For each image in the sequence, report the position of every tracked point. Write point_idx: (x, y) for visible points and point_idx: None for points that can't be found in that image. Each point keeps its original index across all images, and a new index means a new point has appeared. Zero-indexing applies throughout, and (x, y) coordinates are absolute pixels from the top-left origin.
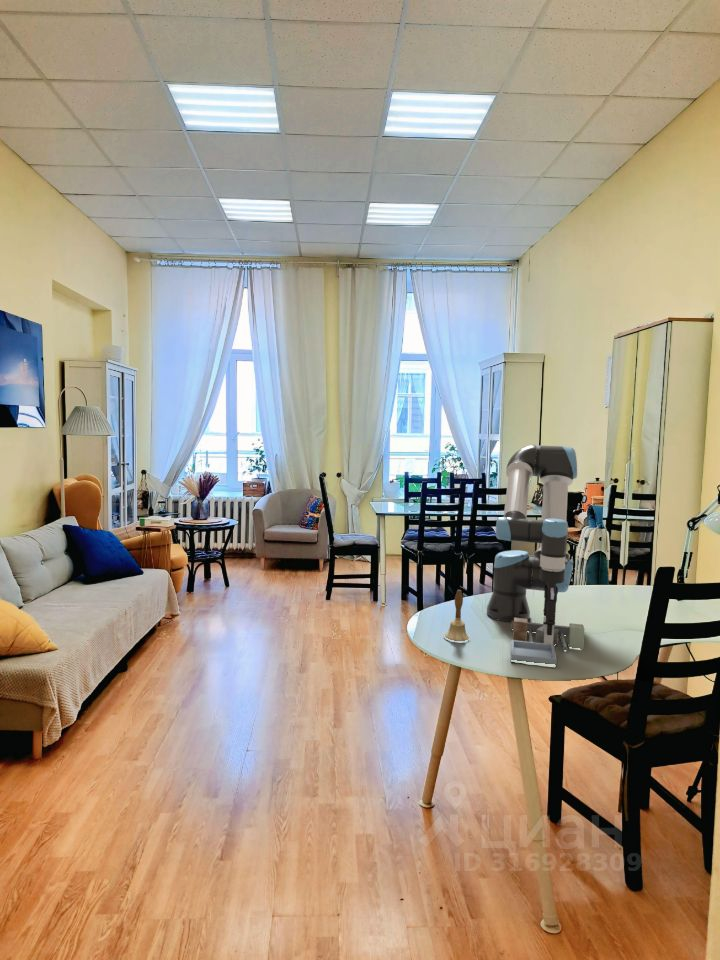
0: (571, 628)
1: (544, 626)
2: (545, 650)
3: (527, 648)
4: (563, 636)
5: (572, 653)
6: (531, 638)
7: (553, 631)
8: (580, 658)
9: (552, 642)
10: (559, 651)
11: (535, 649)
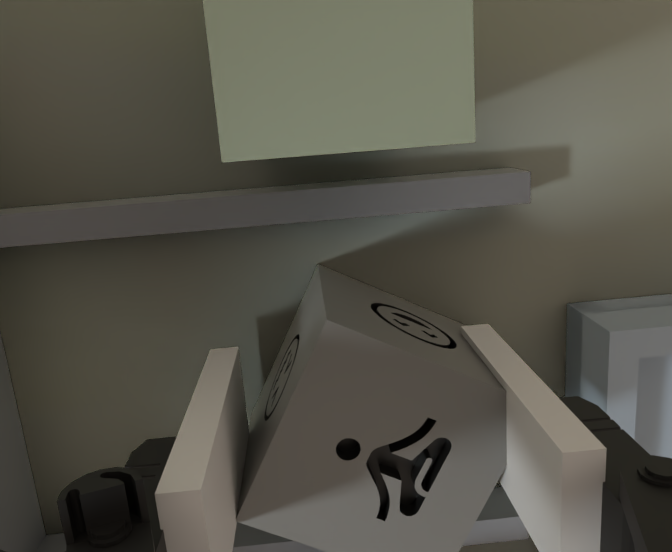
0: (468, 129)
1: (266, 507)
2: (644, 385)
3: None
4: (136, 209)
5: (530, 102)
6: None
7: (556, 397)
8: (660, 16)
9: (498, 340)
10: (513, 239)
11: None
